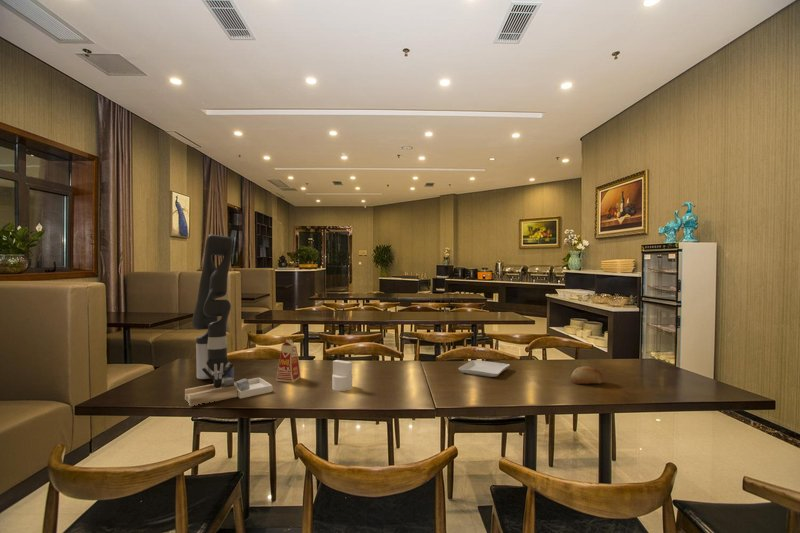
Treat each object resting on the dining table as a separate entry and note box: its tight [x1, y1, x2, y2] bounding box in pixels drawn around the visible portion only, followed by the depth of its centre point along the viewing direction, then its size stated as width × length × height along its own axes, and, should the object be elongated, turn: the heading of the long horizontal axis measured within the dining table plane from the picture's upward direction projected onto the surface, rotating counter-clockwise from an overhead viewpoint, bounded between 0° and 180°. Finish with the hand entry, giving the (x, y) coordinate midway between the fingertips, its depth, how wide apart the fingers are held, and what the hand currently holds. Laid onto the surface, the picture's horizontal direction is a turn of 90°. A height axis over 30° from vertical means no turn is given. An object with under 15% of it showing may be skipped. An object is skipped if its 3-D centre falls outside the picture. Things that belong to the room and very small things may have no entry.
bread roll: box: [570, 365, 605, 385], centre depth 189 cm, size 10×15×8 cm, turn 90°
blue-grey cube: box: [235, 377, 250, 391], centre depth 178 cm, size 4×4×4 cm
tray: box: [234, 377, 274, 399], centre depth 180 cm, size 16×14×3 cm
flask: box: [222, 365, 235, 380], centre depth 188 cm, size 9×3×11 cm, turn 74°
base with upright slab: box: [331, 359, 353, 392], centre depth 184 cm, size 9×9×12 cm
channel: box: [184, 383, 238, 407], centre depth 170 cm, size 10×18×4 cm, turn 129°
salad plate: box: [458, 359, 511, 378], centre depth 210 cm, size 21×21×3 cm
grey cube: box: [222, 377, 235, 388], centre depth 174 cm, size 4×4×4 cm
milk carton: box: [275, 338, 301, 383], centre depth 198 cm, size 9×9×20 cm
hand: (217, 387), depth 171 cm, fingers closed
